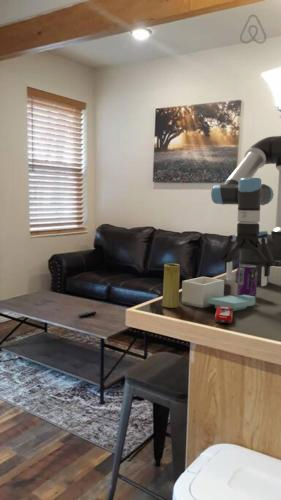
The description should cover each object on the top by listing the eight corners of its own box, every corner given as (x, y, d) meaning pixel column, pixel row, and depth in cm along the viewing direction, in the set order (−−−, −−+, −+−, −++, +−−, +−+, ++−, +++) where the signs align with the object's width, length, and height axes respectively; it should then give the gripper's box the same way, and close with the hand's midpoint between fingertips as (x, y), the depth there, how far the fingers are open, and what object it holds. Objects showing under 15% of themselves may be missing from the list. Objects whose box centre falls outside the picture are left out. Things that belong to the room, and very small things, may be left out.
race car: (216, 313, 133) (217, 301, 132) (233, 314, 131) (234, 302, 131) (212, 324, 120) (213, 311, 120) (231, 326, 119) (232, 312, 118)
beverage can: (256, 299, 152) (258, 267, 151) (237, 297, 154) (238, 266, 152) (255, 295, 159) (257, 264, 158) (236, 293, 160) (238, 263, 159)
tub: (202, 297, 153) (203, 276, 152) (223, 301, 147) (224, 280, 146) (181, 303, 143) (182, 281, 142) (202, 308, 137) (203, 284, 136)
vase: (181, 304, 141) (182, 264, 140) (177, 308, 136) (178, 266, 134) (164, 302, 143) (165, 262, 142) (159, 307, 138) (160, 265, 136)
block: (236, 302, 149) (237, 293, 149) (261, 307, 143) (262, 298, 142) (207, 307, 135) (208, 296, 134) (233, 312, 128) (234, 302, 128)
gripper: (211, 221, 147) (210, 278, 150) (278, 225, 130) (274, 289, 133) (222, 220, 153) (221, 276, 155) (287, 224, 136) (284, 286, 139)
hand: (245, 282), depth 144 cm, fingers open, 13 cm apart
